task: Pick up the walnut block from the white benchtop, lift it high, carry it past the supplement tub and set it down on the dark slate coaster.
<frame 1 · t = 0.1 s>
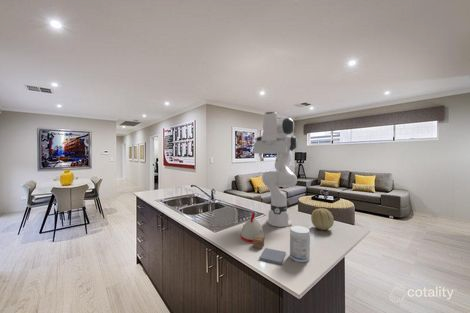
hand: (269, 161, 122), 48 cm above the worktop, fingers open, 8 cm apart
cantaloupe: (321, 229, 141), on the worktop
supplement tub: (299, 258, 101), on the worktop
slate coaster: (272, 256, 102), on the worktop
kitchen timer: (252, 238, 125), on the worktop
walnut block: (258, 246, 113), on the worktop
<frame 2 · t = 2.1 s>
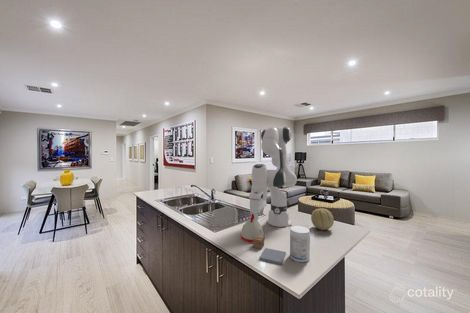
hand: (258, 217, 113), 16 cm above the worktop, fingers open, 8 cm apart
nothing on the worktop moved.
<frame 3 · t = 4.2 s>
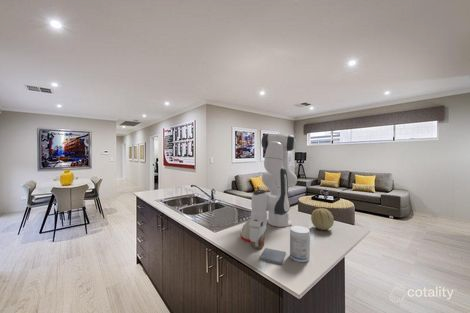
hand: (258, 243, 113), 2 cm above the worktop, fingers closed on walnut block, 5 cm apart
walnut block: (258, 246, 113), on the worktop, touching gripper
everything else where it was.
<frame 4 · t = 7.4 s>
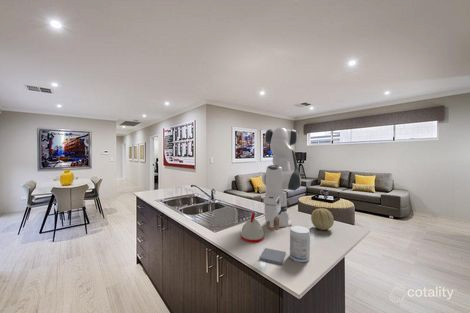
hand: (273, 224, 102), 17 cm above the worktop, fingers closed on walnut block, 5 cm apart
walnut block: (273, 227, 102), point 15 cm above the worktop, touching gripper
everything else where it was.
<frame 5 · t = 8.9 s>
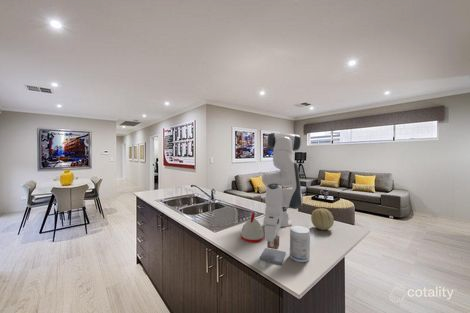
hand: (273, 243, 102), 7 cm above the worktop, fingers closed on walnut block, 5 cm apart
walnut block: (273, 246, 102), point 5 cm above the worktop, touching gripper
everything else where it was.
when the fingers open (4 cm above the worktop, at t = 10.4 s): walnut block drops 1 cm, resting on slate coaster.
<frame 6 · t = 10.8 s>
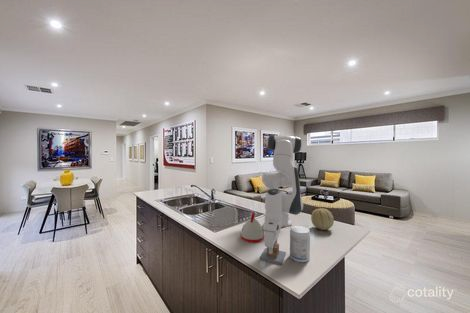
hand: (273, 248, 102), 4 cm above the worktop, fingers open, 8 cm apart
walnut block: (272, 254, 102), point 1 cm above the worktop, touching slate coaster
everything else where it was.
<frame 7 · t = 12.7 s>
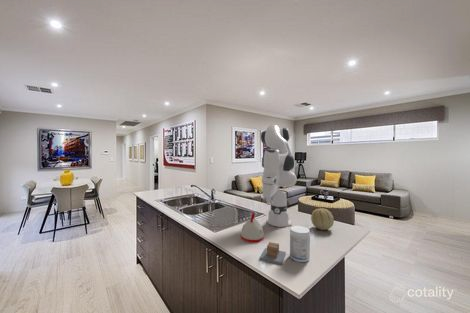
hand: (270, 202, 112), 25 cm above the worktop, fingers open, 8 cm apart
nothing on the worktop moved.
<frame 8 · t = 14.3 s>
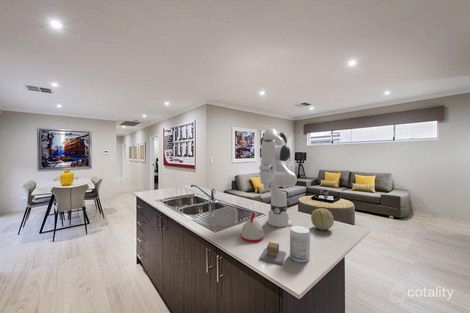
hand: (268, 189, 119), 31 cm above the worktop, fingers open, 8 cm apart
nothing on the worktop moved.
at the end: walnut block inside the target area on the slate coaster (0.1 cm from its centre), point 1.2 cm above the slate coaster's base; walnut block tilted 0°; the gripper is holding nothing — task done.
